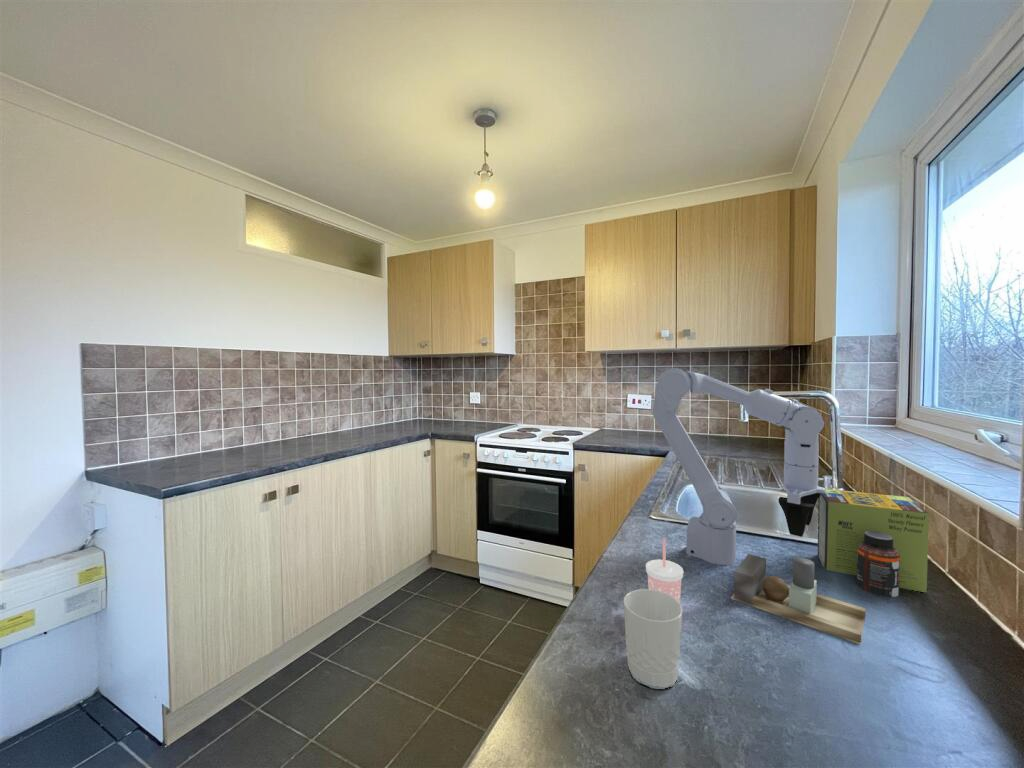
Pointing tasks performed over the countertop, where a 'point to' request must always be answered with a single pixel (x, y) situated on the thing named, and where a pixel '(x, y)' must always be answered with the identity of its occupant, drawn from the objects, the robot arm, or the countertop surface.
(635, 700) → the countertop surface
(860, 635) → the base
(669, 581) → the beverage cup
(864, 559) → the supplement bottle
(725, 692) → the countertop surface
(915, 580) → the protein box
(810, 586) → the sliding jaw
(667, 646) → the white cup
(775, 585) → the nut
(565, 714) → the countertop surface
